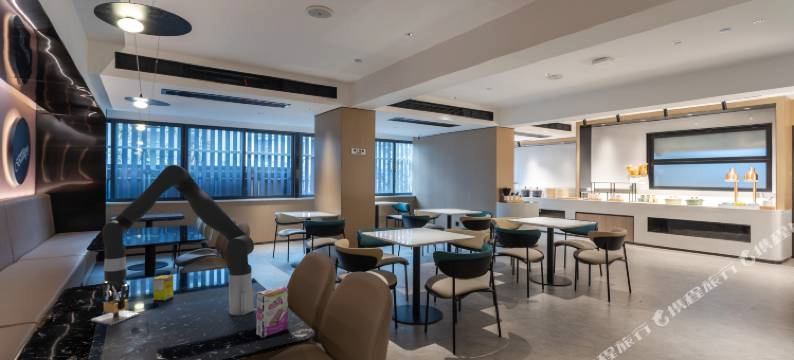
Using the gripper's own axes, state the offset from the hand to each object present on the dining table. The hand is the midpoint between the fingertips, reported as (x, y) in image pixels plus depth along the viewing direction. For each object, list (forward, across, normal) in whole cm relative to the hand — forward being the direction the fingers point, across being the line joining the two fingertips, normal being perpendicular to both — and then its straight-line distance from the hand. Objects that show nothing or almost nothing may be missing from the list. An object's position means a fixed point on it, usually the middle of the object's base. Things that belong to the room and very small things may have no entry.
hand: (116, 307), depth 162 cm
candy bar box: (+5, -70, -13) cm, 71 cm away
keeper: (+4, 0, 0) cm, 4 cm away
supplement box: (+5, +3, -24) cm, 25 cm away
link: (+1, 0, 0) cm, 1 cm away
